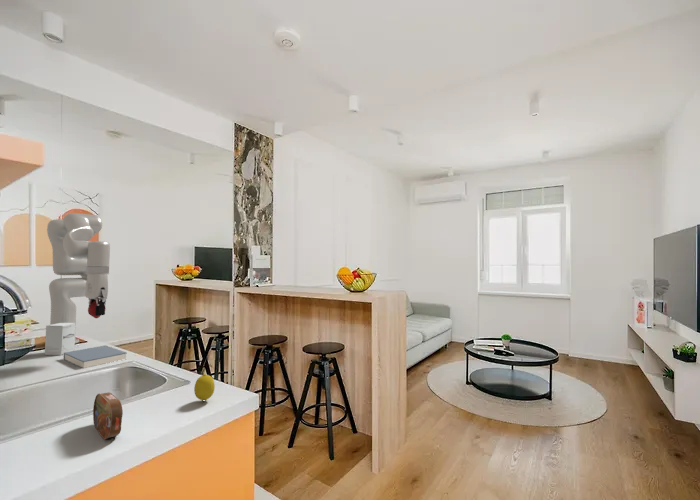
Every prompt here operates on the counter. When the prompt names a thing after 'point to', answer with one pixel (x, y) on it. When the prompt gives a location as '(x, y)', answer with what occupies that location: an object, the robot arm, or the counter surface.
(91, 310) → the onion
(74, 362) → the book
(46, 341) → the supplement box
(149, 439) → the counter surface
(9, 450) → the counter surface
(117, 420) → the tin
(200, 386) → the lemon
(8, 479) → the counter surface
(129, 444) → the counter surface
